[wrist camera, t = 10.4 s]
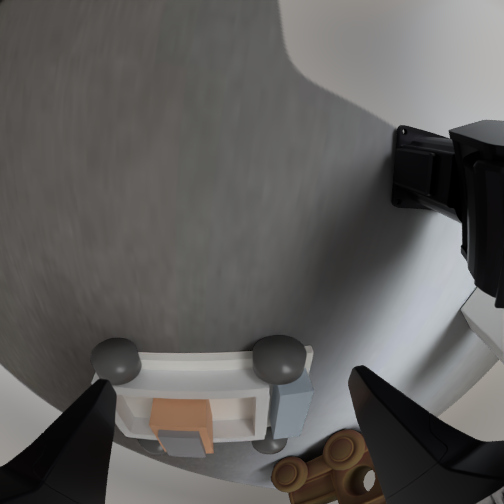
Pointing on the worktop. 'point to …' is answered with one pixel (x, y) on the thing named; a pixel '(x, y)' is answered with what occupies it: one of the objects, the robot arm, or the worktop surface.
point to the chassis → (213, 389)
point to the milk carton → (486, 321)
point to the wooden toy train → (330, 474)
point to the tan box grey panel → (183, 426)
